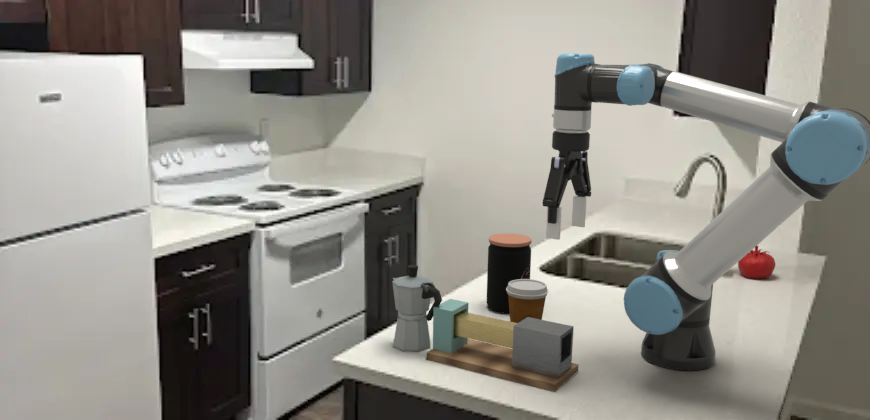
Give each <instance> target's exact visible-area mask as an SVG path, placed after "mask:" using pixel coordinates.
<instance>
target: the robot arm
mask: <svg viewBox="0 0 870 420" xmlns="http://www.w3.org/2000/svg"><path fill="white" fill-rule="evenodd" d="M555 66H556V67H555V73H554V103H553V104H554V105H553V112H552V114H551V117H552V118H553V120H552V121H553V122H552V126H553V128H554V131H553V132H552V137H551V138H552V141H551V147H552V149H553V150H555V151H558V156H551V160H550V169H549V173H548V177H547V181H546V182H547V183H546V187H545V190H544V194H543V199H542V206H543V207H547V208H546V209H547V210H546V234H545V238H546V239H551V240H561V230H562V227H561V225H562V224H561V223H562V209H563V208H562V206H561V203H562V200H563V197H564V195H565V191H566V188H567V185H568V183H569V181H571V183H572V184H571V185H572V188H573V191H574V194H575V195H573V196H572V197H573V198H572V215H571V226H572V227H577V228H578V227H579V228H585V227H586V214H587V213H586V212H587V198H589V197H591V196H592V186H591V179H590V170H589V164H588V163H589V162H588V160H589V159H588V157H589V156H588V154H589V152H588V150H589V149H590V143H591V142H590V141H591V140H590V139H591V134H590V133H589V130H591V128H592V126H591V125H592V105H593V103H596V104H598V103H600V104H601V103H603V104H613V105H614V104H616V105H625V106H644V105H647V104H650V105H654V106H656V107H657V106H658V107H661V108H665V109H670V110H672V111H675V112H679V113H682V114H686V115H688V116H692V117H696V118H699V119H702V120H706V121H709V122H713V123H716V124H719V125H723V126H726V127H730V128H732V129H736V130H740V131H743V132H746V133H750V134H753V135H756V136H760V137H761V138H762V137H763V138H766V139H769V140H773V141H776V142H780V144H779V145H778V146H777V148H775V149H774V150H773V151H772V152H771V153H770V156H769V160H770V161H769V163H770V166H769V167H768V168H767V169H766V170H765V171H764V172H763V173H762V174H760V176H758V177H757V178H756V179H755V180H754V181H753V182H752V183H751V184H749V186H748V187H747V188H745V190H743V191H742V192H741V193H740V194H738V196H737V197H736V198H735V199H734V200H733V201H731V202H730V204H728V205H727V206H726V207H725V208H724V209H723V210H722V211H721V212H720V213H719V214H718V215H717V216H716V217H715V218H714V219H713V220H711V221H710V222H709V223H708V224H707V225H706V226H705V227H704V228H703V229H702V230H701V231H699V233H698V234H696V235H695V236H694V237H693V238H692V239H691V240H690V241H689V242H688V243H686V245H685V246H683V247H682V248H681V249H680V250H678V249H676V250H675V249H674V250H673V249H664V250H659V251H658V252H657V255H656V258H655V263H653V264H652V266H650V267H649V268H648V269H647V270H646V271H645V272H644V273H643V274H642V275H640V276H638V277H636V278H634V279H633V280H631V282H630V283H629V285H627V287H626V288H625V289H626V290H625V292H624V295H623V305H624V306H623V308H624V310H625V313H626V316H627V317H628V319H629V320H630V322H631V323H632V324H633V325H634V326H635V327H636V328H638V329H639V330H640V331H642V332H645V335H644V337H643V339H642V343H641V351H640V353H641V357H642V358H644V360H646V361H648V362H650V363H651V364H653V365H656V366H659V367H662V368H666V369H672V370H677V371H701V370H706V369H708V368H709V369H710V367H713V366H714V365H715V363H716V348H715V345H714V344H715V343H714V340H713V336H712V332H711V329H710V323H711V322H710V321H711V310H712V302H713V301H712V300H713V288H714V284H715V283H716V282H717V281H718V280H720V278H722V277H723V276H724V275H725V274H726V273H727V272H728V271H730V270H731V268H733V267H734V266H735V265H736V264H738V262H739V261H740V260H741V259H742V258H743V257H744V256H745V255H746V254H748V253H749V252H750V251H751V250H754V249H755V247H756V246H759V244H761V242H763V241H764V240H765V239H766V238H767V237H768V236H769V235H770V234H771V233H773V232H774V231H775V230H776V229H777V228H778V227H780V226H781V225H782V224H783V223H784V222H785V221H787V220H788V218H790V217H791V216H793V214H794V213H795V212H797V211H798V210H799V209H800V208H801V207H802V206H804V205H805V203H807V202H821V201H823V200H824V199H826V197H828V196H829V195H830V194H831V193H832V192H833V191H835V189H837V188H838V187H840V185H842V184H843V183H844V182H845V181H846V180H847V179H849V178H851V177H852V176H853V175H855V174H856V173H857V172H858V171H859V170H860V168H862V167H863V166H865V165H866V164H867V163H868V162H870V119H869V118H868V117H867V116H866V115H865V114H863V113H862V112H860V111H857V110H855V109H852V108H848V107H839V106H833V105H832V106H831V105H825V104H822V103H816V102H812V101H805V102H803V103H802V104H798V103H795V102H791V101H787V100H783V99H780V98H776V97H774V96H773V97H772V96H768V95H765V94H761V93H759V92H758V93H757V92H754V91H750V90H746V89H743V88H739V87H734V86H731V85H727V84H723V83H719V82H717V81H716V82H715V81H714V80H713V81H712V80H708V79H706V78H705V79H704V78H701V77H698V76H694V75H690V74H686V73H683V72H678V71H675V70H674V71H673V70H670V69H667V68H665V67H663V66H662V65H659V64H656V63H651V62H650V63H642V64H598V63H596V62H595V56H594V54H591V53H561V54H559V55H558V56H557V58H556V65H555ZM560 206H561V207H560Z"/></svg>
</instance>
